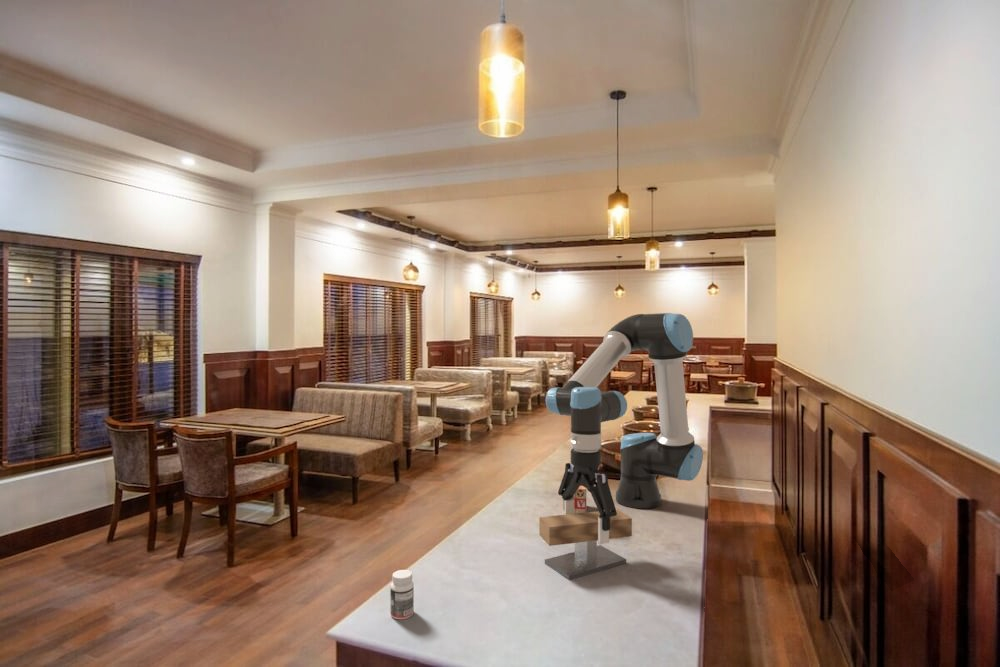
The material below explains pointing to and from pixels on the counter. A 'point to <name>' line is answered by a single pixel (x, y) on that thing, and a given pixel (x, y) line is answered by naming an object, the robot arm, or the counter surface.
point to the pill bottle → (402, 594)
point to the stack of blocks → (580, 500)
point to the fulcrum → (585, 560)
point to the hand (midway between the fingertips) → (585, 533)
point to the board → (581, 527)
